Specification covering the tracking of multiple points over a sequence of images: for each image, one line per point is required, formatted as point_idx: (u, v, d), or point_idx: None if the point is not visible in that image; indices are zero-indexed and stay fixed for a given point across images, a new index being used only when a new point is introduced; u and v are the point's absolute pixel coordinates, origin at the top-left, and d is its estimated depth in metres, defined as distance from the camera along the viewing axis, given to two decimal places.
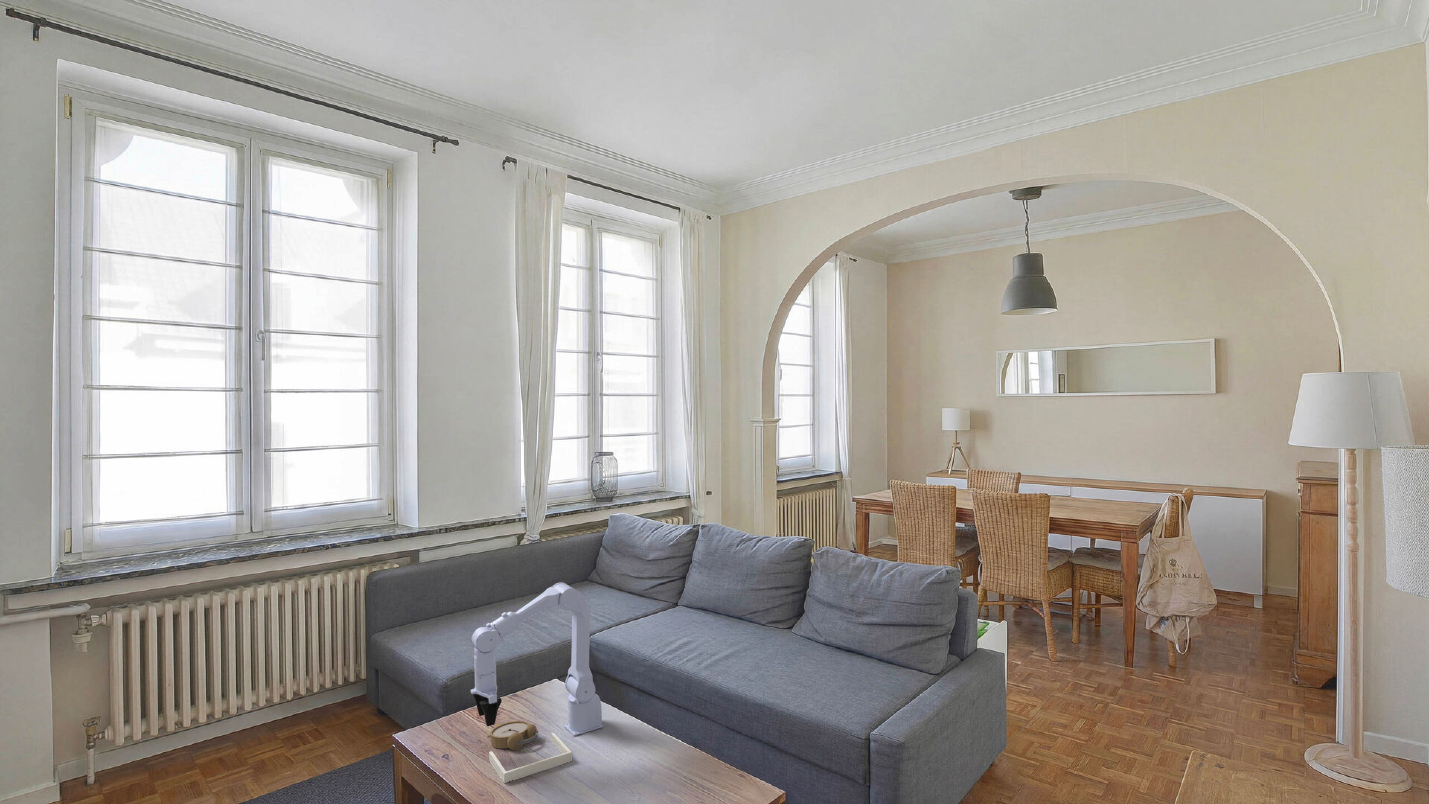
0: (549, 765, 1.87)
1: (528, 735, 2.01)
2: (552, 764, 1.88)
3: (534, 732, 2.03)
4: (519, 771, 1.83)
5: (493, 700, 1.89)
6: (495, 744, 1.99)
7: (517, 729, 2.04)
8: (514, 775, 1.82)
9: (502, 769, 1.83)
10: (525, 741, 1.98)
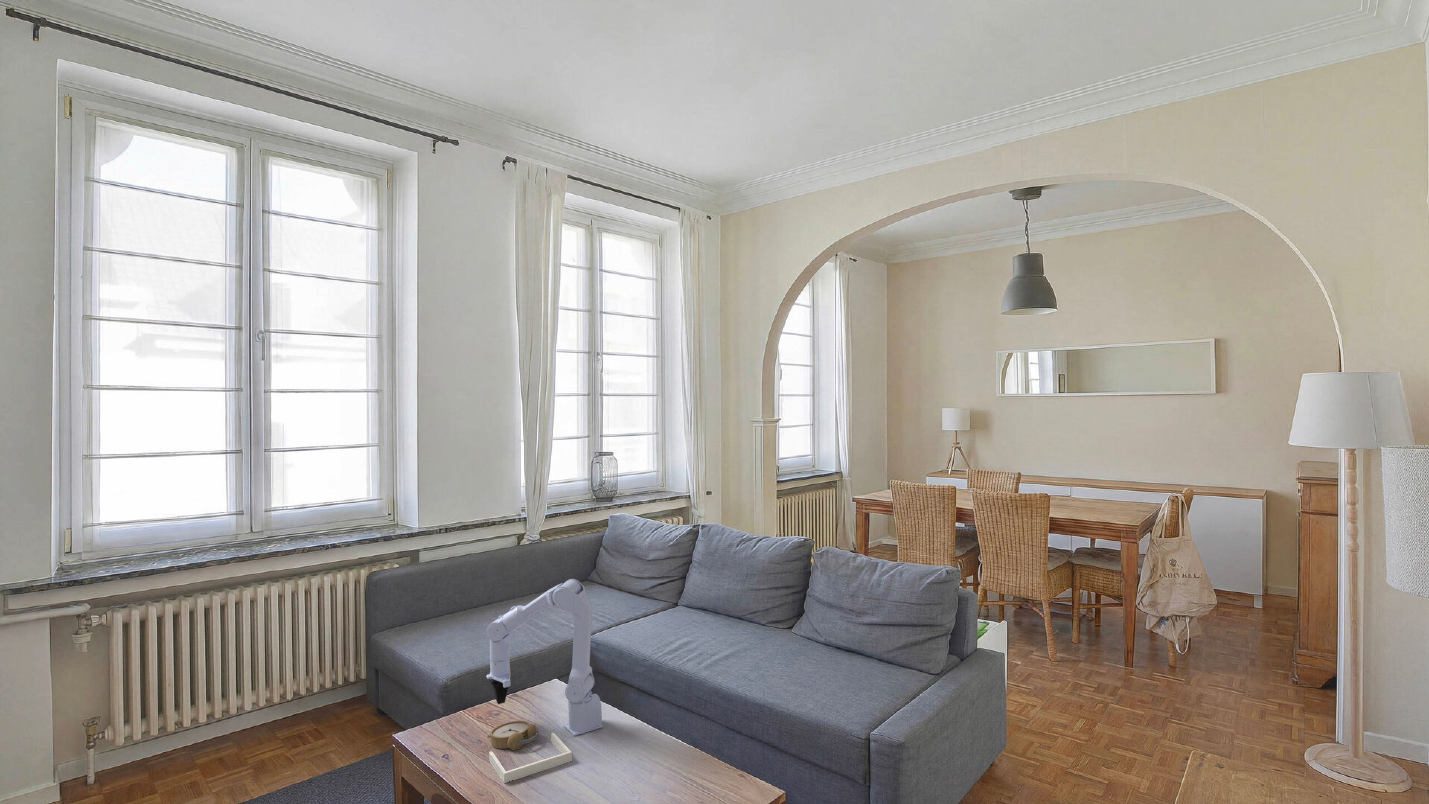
0: (549, 765, 1.87)
1: (528, 735, 2.01)
2: (552, 764, 1.88)
3: (534, 732, 2.02)
4: (519, 771, 1.83)
5: (507, 685, 2.08)
6: (495, 744, 1.99)
7: (517, 729, 2.04)
8: (514, 775, 1.82)
9: (502, 769, 1.83)
10: (525, 741, 1.98)
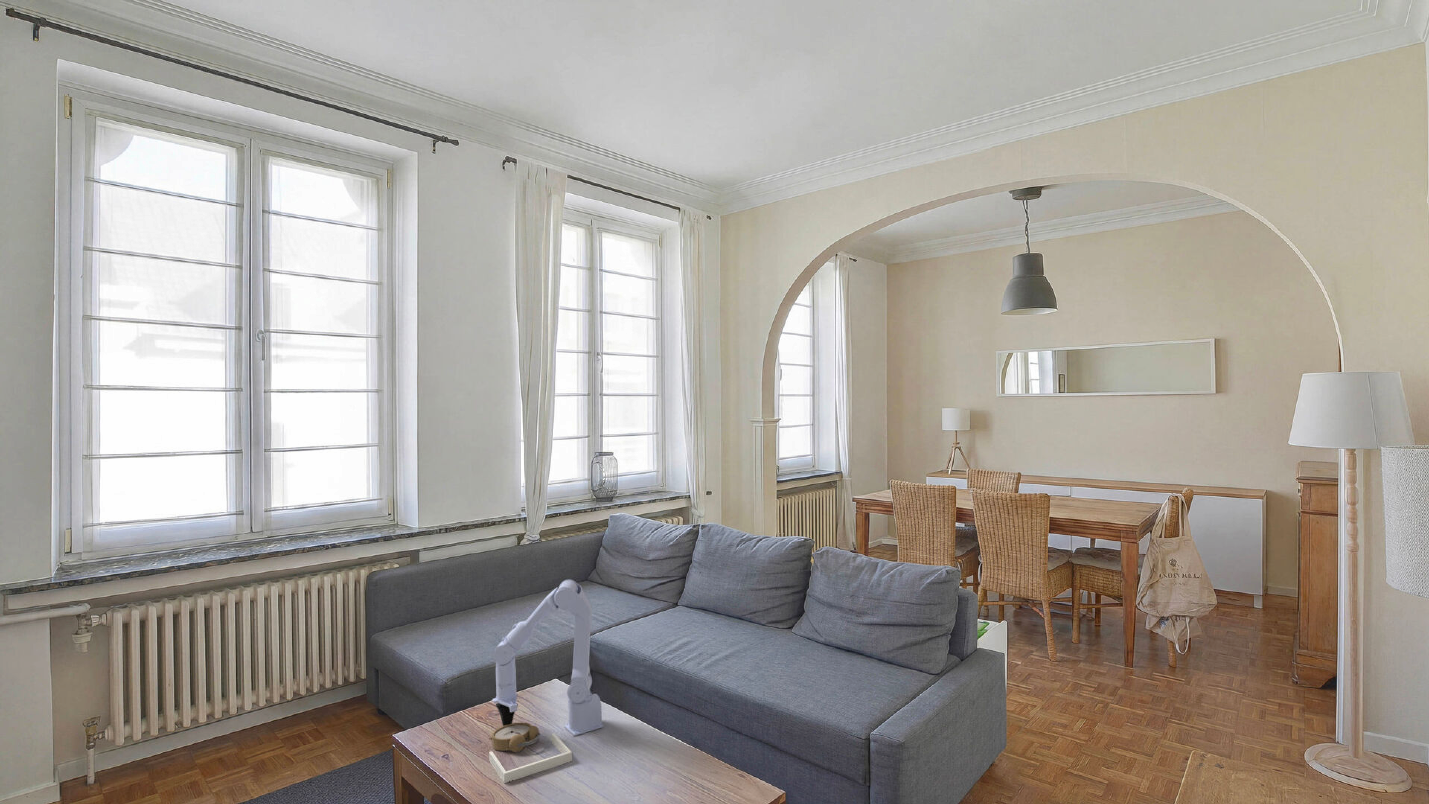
0: (549, 765, 1.87)
1: (530, 737, 2.00)
2: (552, 764, 1.88)
3: (536, 734, 2.01)
4: (519, 771, 1.83)
5: (514, 709, 2.03)
6: (497, 746, 1.98)
7: (519, 731, 2.02)
8: (514, 775, 1.82)
9: (502, 769, 1.83)
10: (527, 743, 1.96)
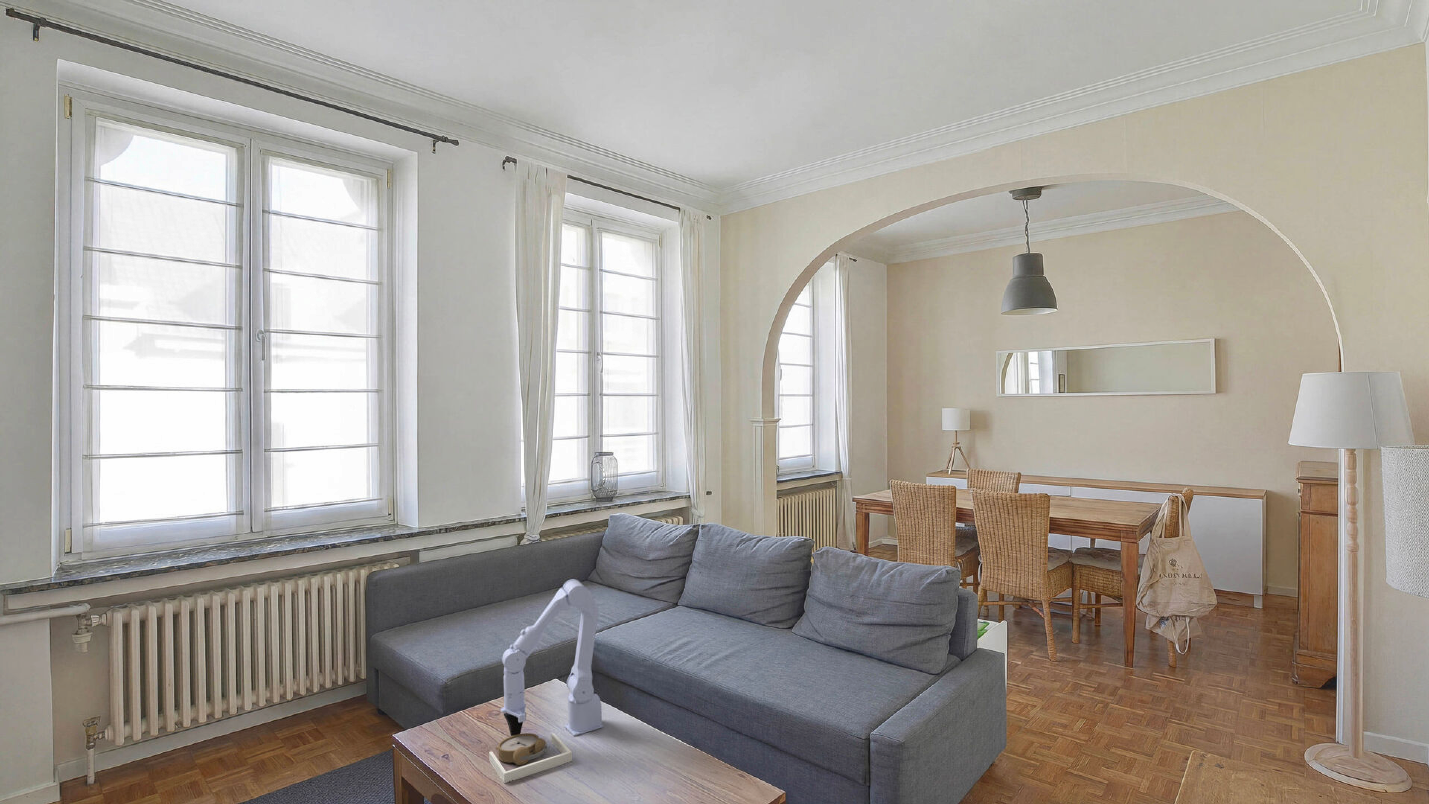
0: (549, 765, 1.87)
1: (535, 750, 1.92)
2: (552, 764, 1.88)
3: (542, 747, 1.93)
4: (519, 771, 1.83)
5: (523, 719, 1.96)
6: (501, 757, 1.91)
7: (526, 743, 1.95)
8: (514, 775, 1.82)
9: (502, 769, 1.83)
10: (531, 757, 1.88)
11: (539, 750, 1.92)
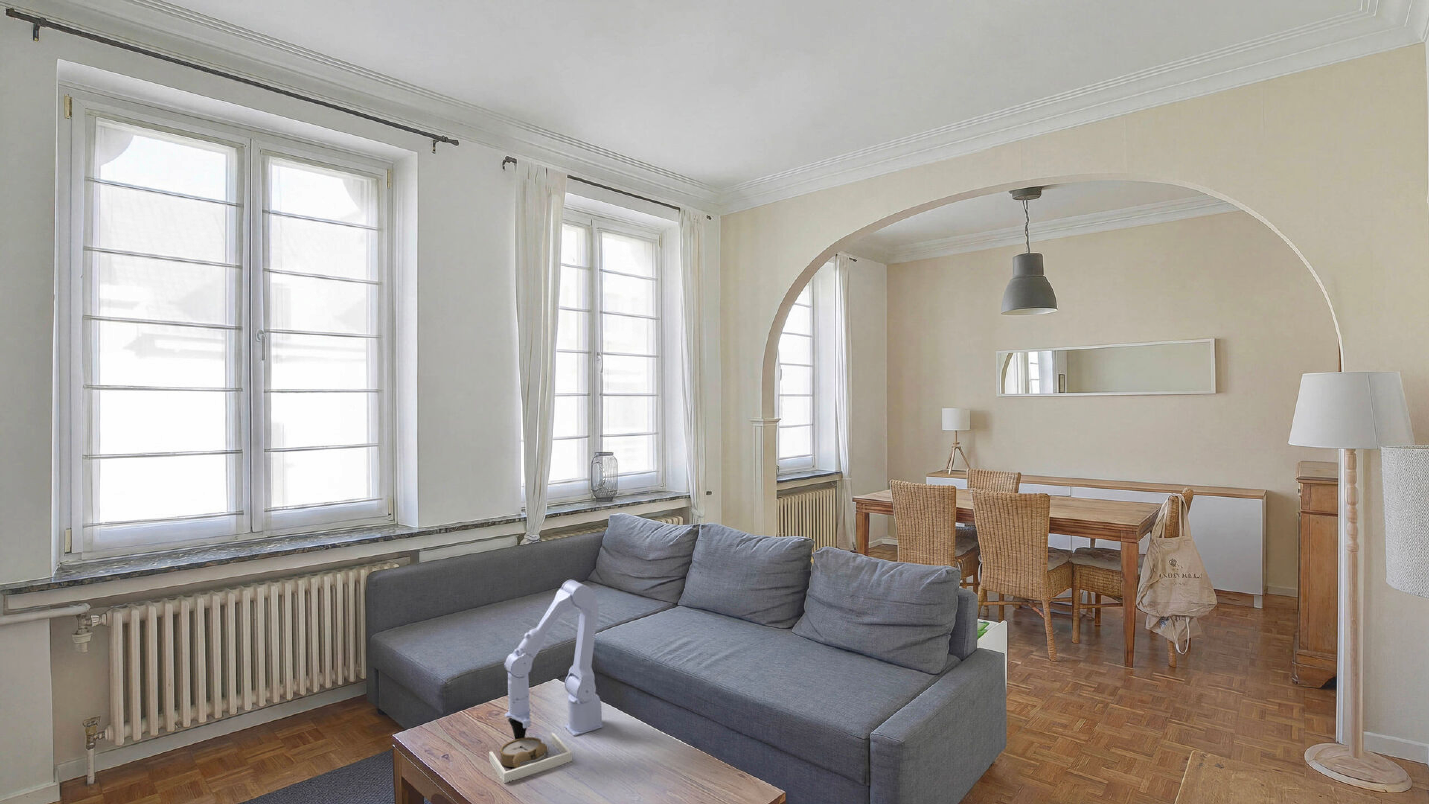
0: (549, 765, 1.87)
1: (536, 755, 1.89)
2: (552, 764, 1.88)
3: (543, 753, 1.90)
4: (519, 771, 1.83)
5: (527, 725, 1.93)
6: (503, 761, 1.89)
7: (528, 747, 1.93)
8: (514, 775, 1.82)
9: (502, 769, 1.83)
10: (530, 762, 1.85)
11: (540, 755, 1.89)
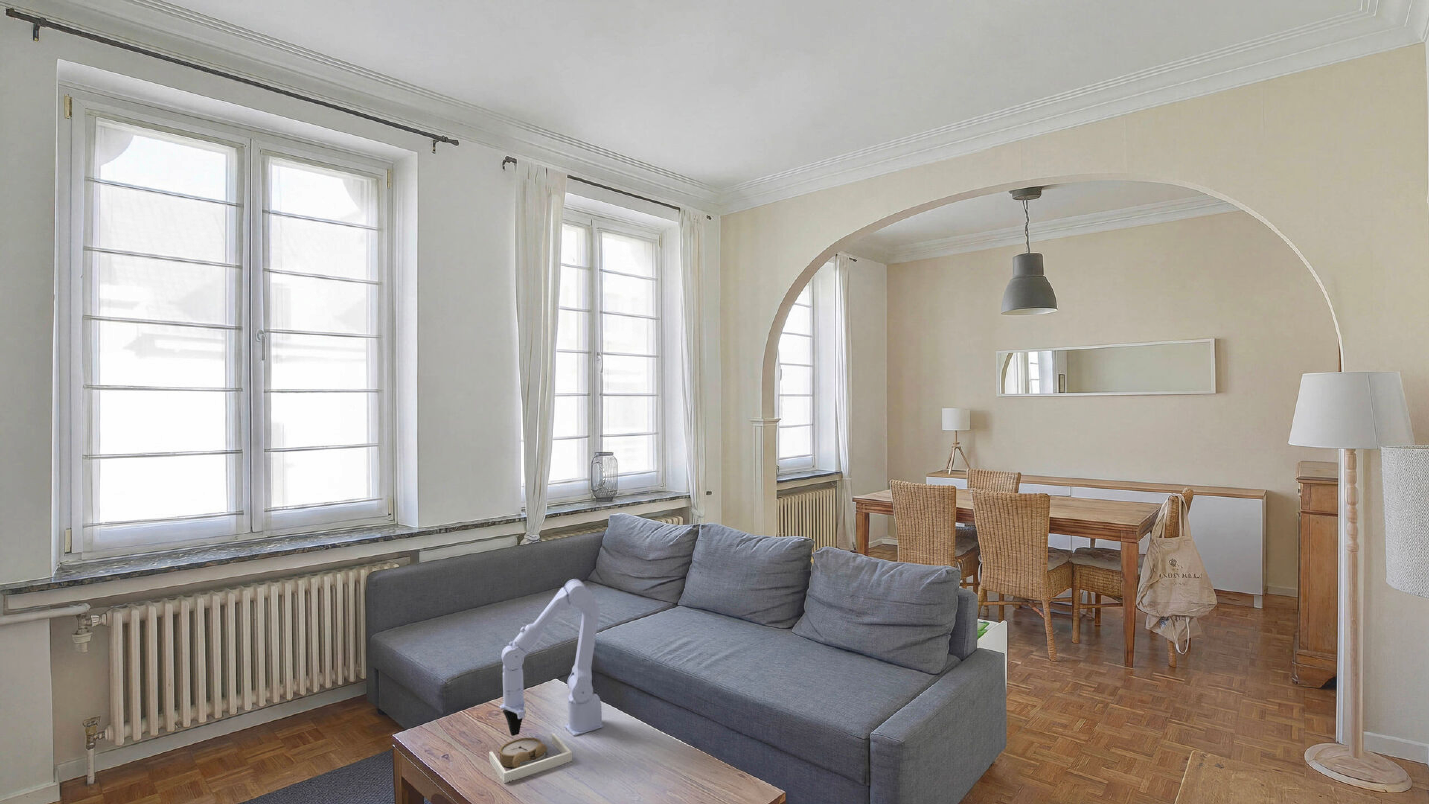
0: (549, 765, 1.87)
1: (536, 755, 1.89)
2: (552, 764, 1.88)
3: (543, 753, 1.90)
4: (519, 771, 1.83)
5: (522, 716, 1.97)
6: (502, 761, 1.89)
7: (527, 747, 1.93)
8: (514, 775, 1.82)
9: (502, 769, 1.83)
10: (530, 762, 1.86)
11: (539, 755, 1.90)
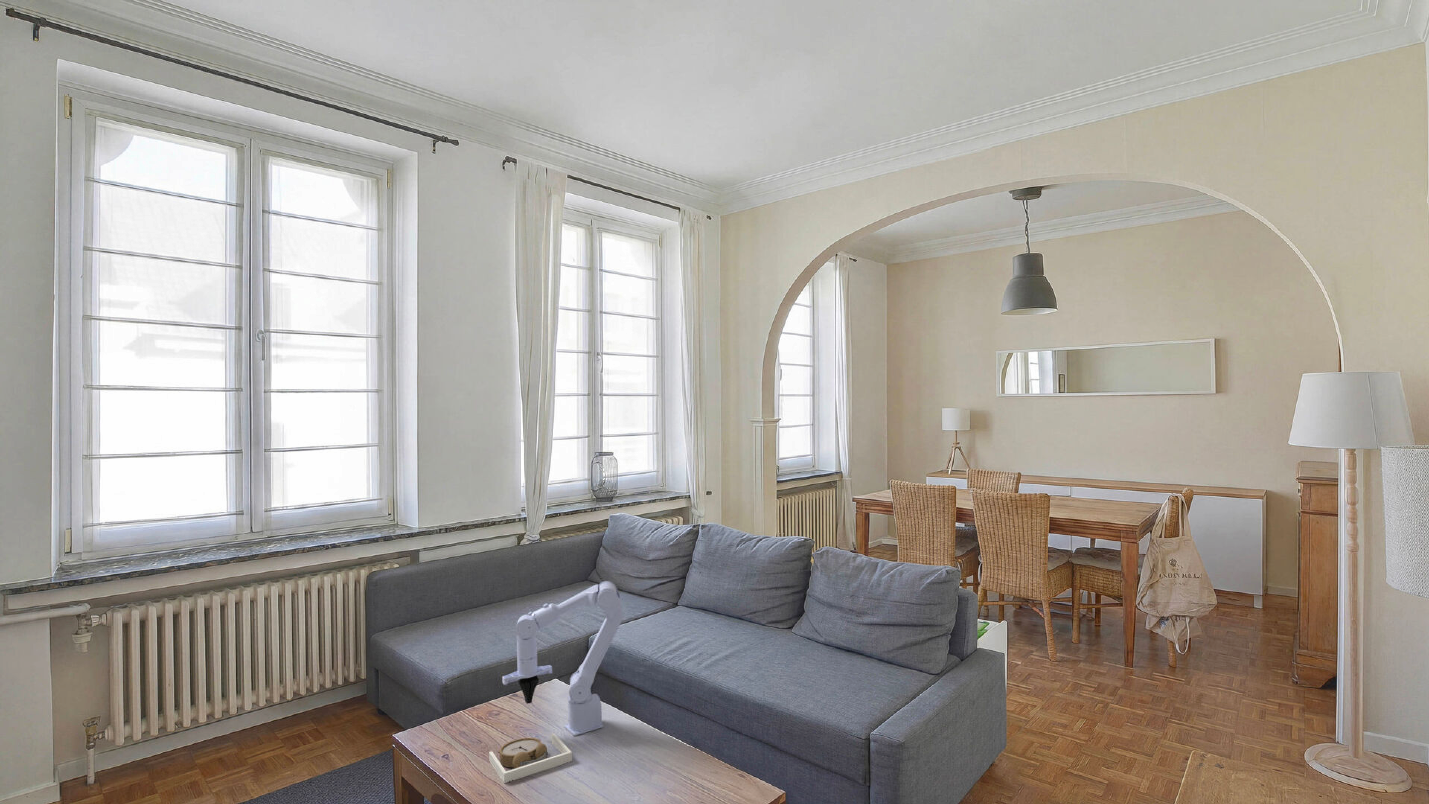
0: (549, 765, 1.87)
1: (536, 755, 1.89)
2: (552, 764, 1.88)
3: (543, 753, 1.90)
4: (519, 771, 1.83)
5: (503, 682, 2.03)
6: (502, 762, 1.89)
7: (527, 747, 1.93)
8: (514, 775, 1.82)
9: (502, 769, 1.83)
10: (530, 762, 1.86)
11: (540, 756, 1.90)
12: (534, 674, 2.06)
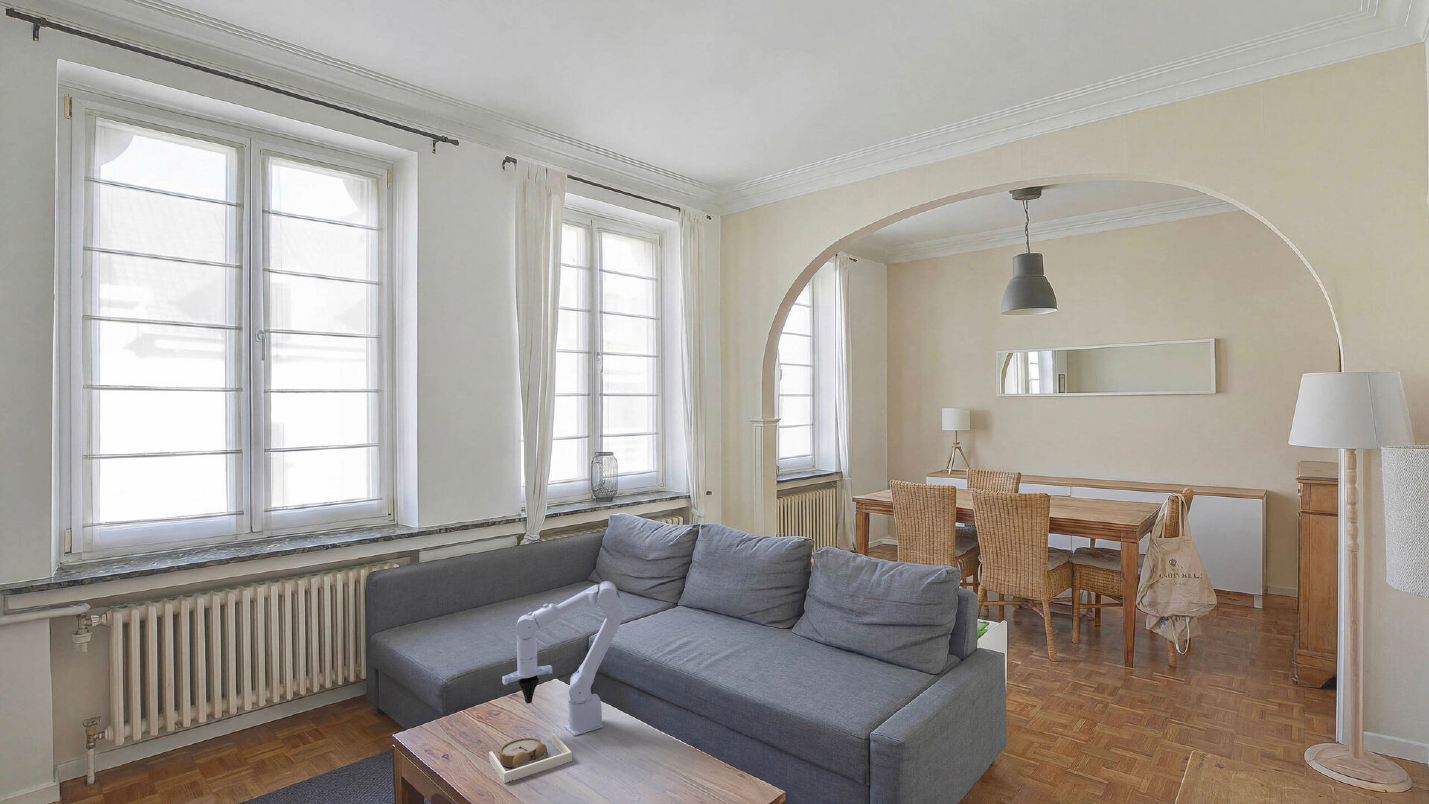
0: (549, 765, 1.87)
1: (536, 756, 1.89)
2: (552, 764, 1.88)
3: (543, 753, 1.90)
4: (519, 771, 1.83)
5: (503, 682, 2.03)
6: (502, 762, 1.89)
7: (527, 747, 1.93)
8: (514, 775, 1.82)
9: (502, 769, 1.83)
10: (530, 762, 1.86)
11: (540, 756, 1.90)
12: (534, 674, 2.06)
